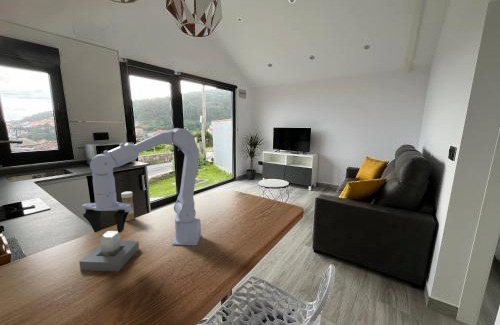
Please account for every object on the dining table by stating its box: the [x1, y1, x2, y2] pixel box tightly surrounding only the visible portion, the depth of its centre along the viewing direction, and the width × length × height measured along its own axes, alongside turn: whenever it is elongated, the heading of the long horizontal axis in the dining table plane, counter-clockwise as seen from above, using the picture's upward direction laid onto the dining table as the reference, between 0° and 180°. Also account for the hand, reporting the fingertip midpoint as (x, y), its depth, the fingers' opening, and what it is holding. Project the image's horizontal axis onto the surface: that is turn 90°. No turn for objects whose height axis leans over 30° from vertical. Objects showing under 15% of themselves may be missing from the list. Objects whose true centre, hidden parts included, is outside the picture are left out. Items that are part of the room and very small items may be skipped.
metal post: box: [99, 230, 122, 256], centre depth 71 cm, size 4×4×9 cm
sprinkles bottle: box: [120, 191, 135, 222], centre depth 99 cm, size 5×5×14 cm
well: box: [78, 240, 140, 272], centre depth 72 cm, size 12×12×3 cm
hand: (109, 231), depth 70 cm, fingers open, 7 cm apart
